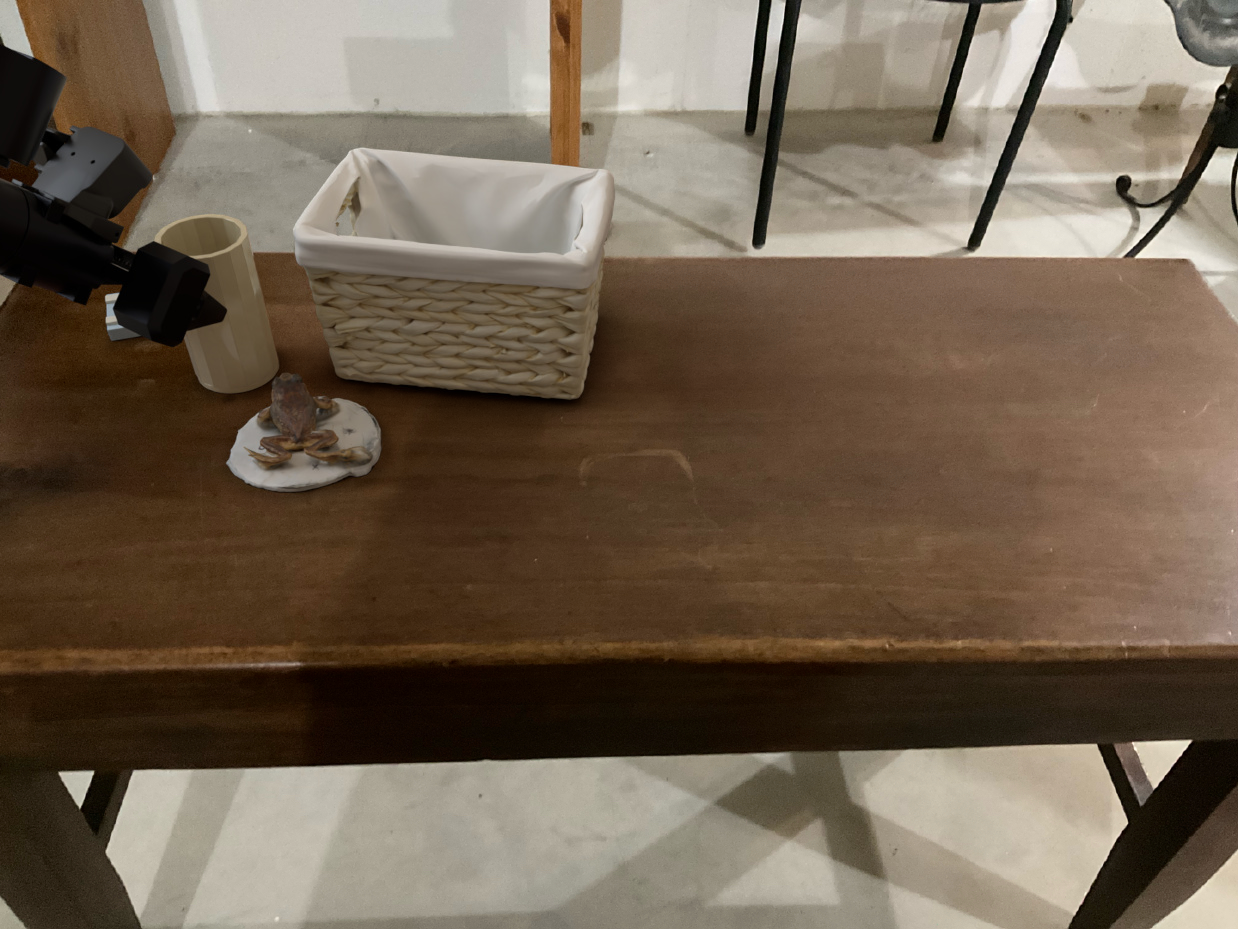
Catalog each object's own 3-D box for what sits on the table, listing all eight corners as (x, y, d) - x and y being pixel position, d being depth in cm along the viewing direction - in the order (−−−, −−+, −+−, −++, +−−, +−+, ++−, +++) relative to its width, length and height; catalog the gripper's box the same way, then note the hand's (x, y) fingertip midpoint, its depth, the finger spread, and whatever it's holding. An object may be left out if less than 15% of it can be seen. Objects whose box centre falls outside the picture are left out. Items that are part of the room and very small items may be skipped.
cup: (241, 402, 80) (202, 267, 71) (179, 377, 82) (134, 243, 73) (296, 360, 84) (265, 228, 75) (236, 337, 86) (200, 206, 77)
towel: (111, 341, 85) (105, 327, 84) (110, 305, 89) (105, 291, 88) (229, 321, 88) (225, 307, 87) (222, 287, 92) (219, 273, 91)
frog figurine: (214, 418, 78) (202, 381, 76) (359, 383, 82) (353, 347, 80) (238, 510, 71) (226, 473, 68) (397, 467, 75) (391, 430, 72)
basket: (314, 386, 82) (280, 232, 72) (370, 284, 94) (348, 139, 84) (591, 415, 81) (596, 263, 71) (612, 309, 93) (620, 165, 82)
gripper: (146, 146, 57) (310, 236, 72) (-46, 72, 64) (141, 169, 78) (74, 318, 57) (252, 373, 72) (-110, 226, 64) (88, 294, 78)
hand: (182, 295), depth 75 cm, fingers open, 9 cm apart
